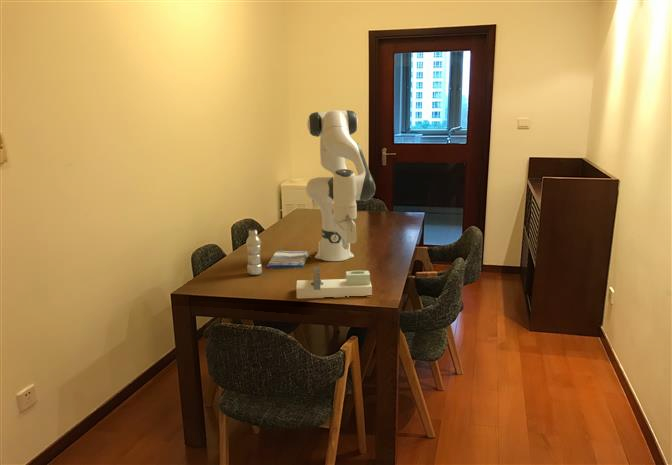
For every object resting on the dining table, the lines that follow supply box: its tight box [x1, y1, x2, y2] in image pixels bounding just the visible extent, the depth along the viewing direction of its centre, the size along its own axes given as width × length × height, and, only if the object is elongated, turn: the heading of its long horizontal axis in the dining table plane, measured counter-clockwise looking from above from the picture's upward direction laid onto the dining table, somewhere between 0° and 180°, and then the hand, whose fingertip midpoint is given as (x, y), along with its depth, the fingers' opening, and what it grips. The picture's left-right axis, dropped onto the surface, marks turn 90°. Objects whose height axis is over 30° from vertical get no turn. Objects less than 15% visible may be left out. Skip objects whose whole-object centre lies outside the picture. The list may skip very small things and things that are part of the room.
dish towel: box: [266, 250, 310, 270], centre depth 255 cm, size 17×24×3 cm
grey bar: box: [312, 265, 322, 290], centre depth 210 cm, size 3×20×4 cm, turn 2°
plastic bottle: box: [245, 228, 263, 276], centre depth 234 cm, size 6×7×20 cm
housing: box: [295, 278, 373, 300], centre depth 211 cm, size 10×29×4 cm, turn 93°
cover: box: [345, 269, 371, 285], centre depth 211 cm, size 5×9×5 cm, turn 93°
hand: (345, 248), depth 206 cm, fingers closed
